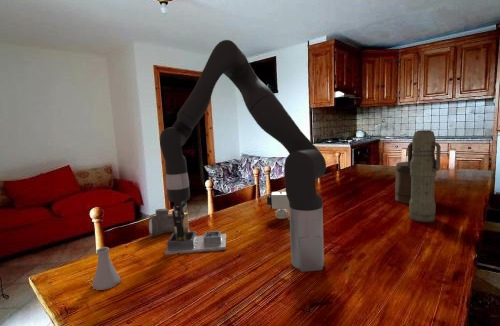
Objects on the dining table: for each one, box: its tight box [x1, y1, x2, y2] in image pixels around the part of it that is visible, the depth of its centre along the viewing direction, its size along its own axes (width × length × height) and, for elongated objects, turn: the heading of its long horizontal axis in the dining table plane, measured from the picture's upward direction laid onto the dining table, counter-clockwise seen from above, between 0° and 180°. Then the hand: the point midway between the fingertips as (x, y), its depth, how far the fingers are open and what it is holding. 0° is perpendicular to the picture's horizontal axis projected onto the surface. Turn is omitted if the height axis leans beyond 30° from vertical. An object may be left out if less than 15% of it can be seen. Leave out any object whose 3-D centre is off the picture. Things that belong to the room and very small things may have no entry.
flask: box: [92, 246, 122, 291], centre depth 79 cm, size 7×7×10 cm
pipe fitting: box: [148, 208, 175, 238], centre depth 115 cm, size 12×8×10 cm
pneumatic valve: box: [266, 190, 289, 220], centre depth 126 cm, size 6×12×12 cm, turn 78°
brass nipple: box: [171, 210, 191, 241], centre depth 101 cm, size 6×6×9 cm
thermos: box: [407, 129, 442, 223], centre depth 114 cm, size 9×12×35 cm
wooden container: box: [394, 161, 411, 205], centre depth 140 cm, size 15×15×22 cm
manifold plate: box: [164, 230, 227, 255], centre depth 102 cm, size 12×20×4 cm, turn 94°
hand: (182, 233), depth 101 cm, fingers closed on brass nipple, 5 cm apart
